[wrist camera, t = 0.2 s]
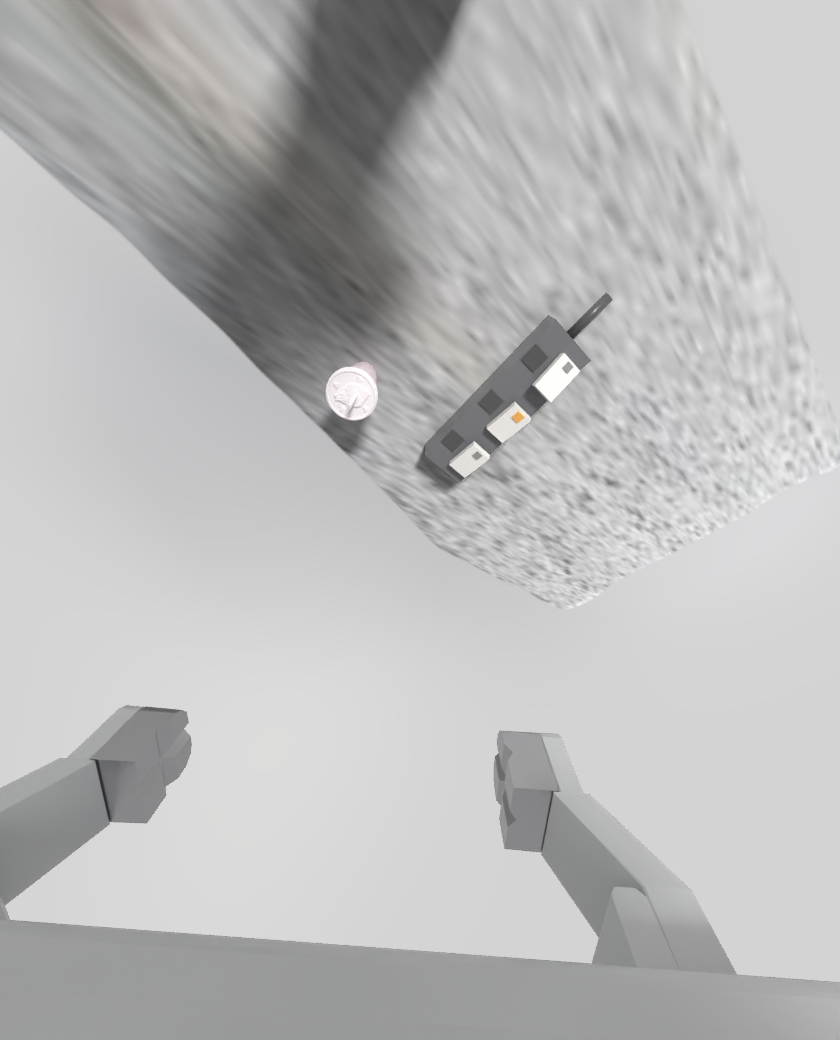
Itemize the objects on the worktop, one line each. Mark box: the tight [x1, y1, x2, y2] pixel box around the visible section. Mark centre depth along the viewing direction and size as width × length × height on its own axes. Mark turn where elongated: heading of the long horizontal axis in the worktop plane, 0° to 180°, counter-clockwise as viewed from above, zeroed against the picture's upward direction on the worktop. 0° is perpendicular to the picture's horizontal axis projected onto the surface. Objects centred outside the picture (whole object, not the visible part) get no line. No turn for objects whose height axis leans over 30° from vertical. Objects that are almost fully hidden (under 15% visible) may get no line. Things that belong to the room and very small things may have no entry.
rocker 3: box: [532, 353, 580, 402], centre depth 49 cm, size 5×3×1 cm, turn 139°
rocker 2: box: [487, 402, 531, 443], centre depth 53 cm, size 5×3×1 cm, turn 138°
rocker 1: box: [449, 441, 490, 478], centre depth 56 cm, size 5×3×1 cm, turn 138°
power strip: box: [425, 293, 612, 483], centre depth 53 cm, size 30×7×4 cm, turn 139°
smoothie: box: [326, 362, 378, 421], centre depth 49 cm, size 6×6×14 cm
